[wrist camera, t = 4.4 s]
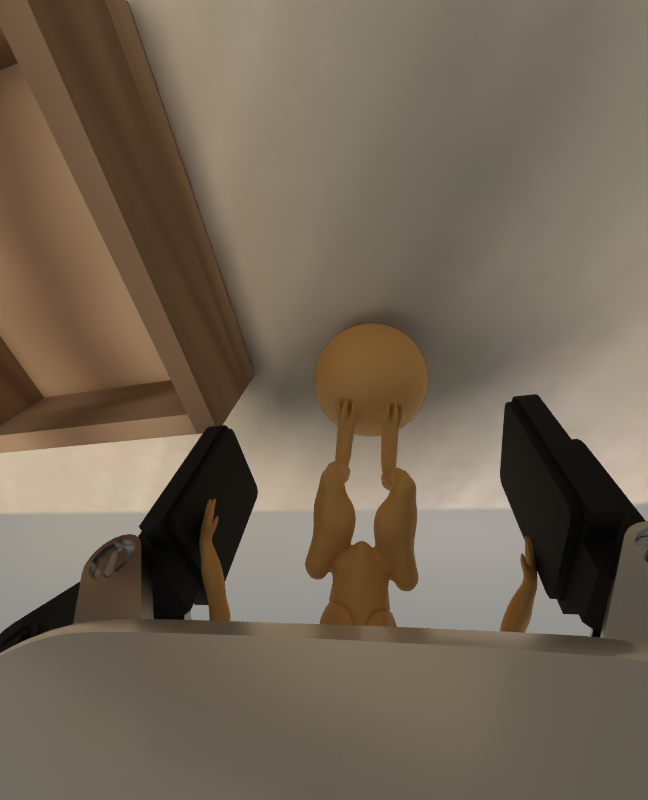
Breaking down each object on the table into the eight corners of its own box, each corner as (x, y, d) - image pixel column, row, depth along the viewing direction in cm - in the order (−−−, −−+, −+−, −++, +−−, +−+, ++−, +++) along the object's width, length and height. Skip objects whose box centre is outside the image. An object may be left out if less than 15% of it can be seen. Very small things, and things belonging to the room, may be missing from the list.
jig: (127, 1, 9) (-22, -110, 6) (254, 374, 15) (217, 431, 12) (-139, 111, 12) (-361, 79, 8) (60, 400, 17) (-21, 455, 14)
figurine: (490, 317, 13) (955, 858, 3) (450, 443, 16) (587, 898, 6) (267, 300, 13) (-57, 686, 3) (273, 425, 16) (123, 809, 6)
